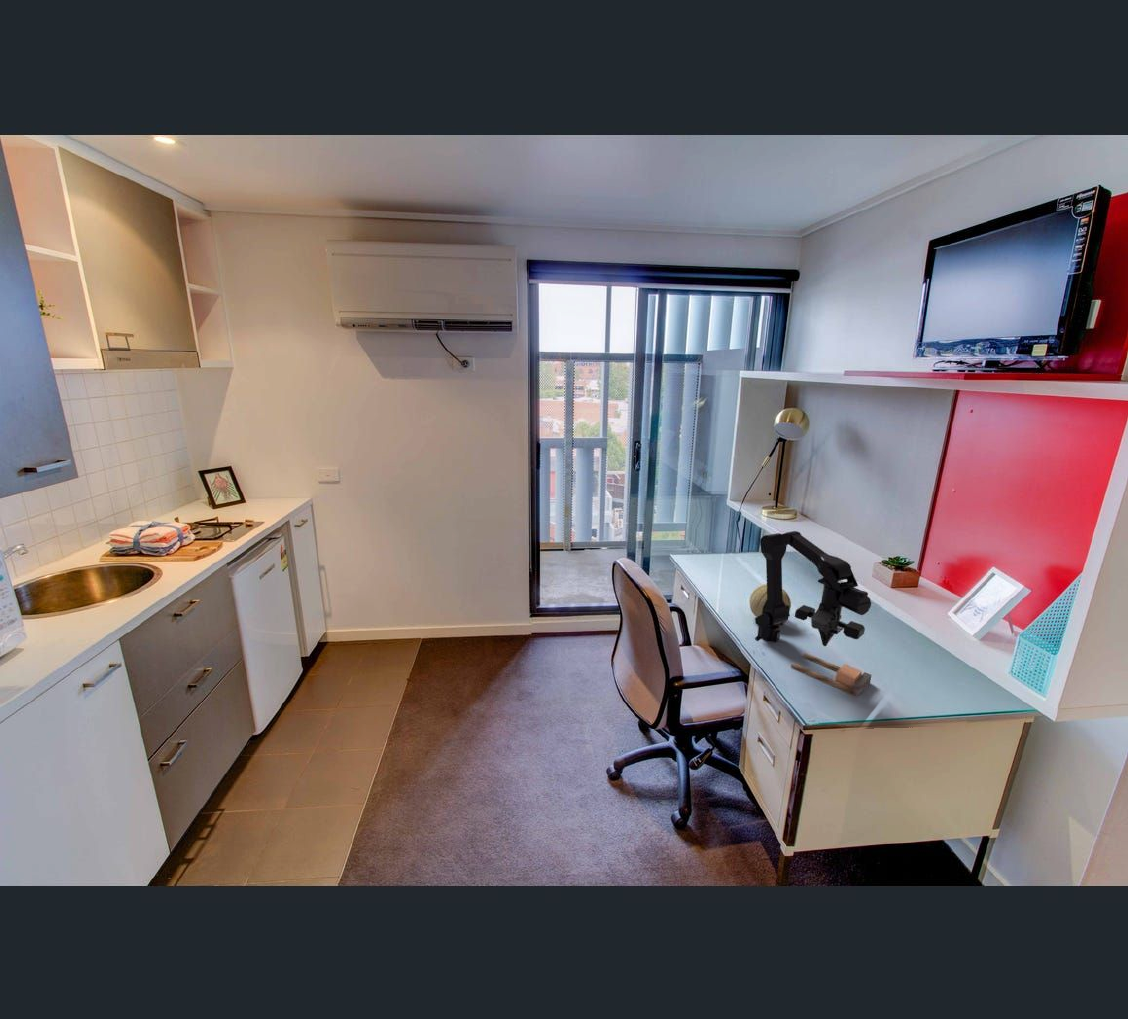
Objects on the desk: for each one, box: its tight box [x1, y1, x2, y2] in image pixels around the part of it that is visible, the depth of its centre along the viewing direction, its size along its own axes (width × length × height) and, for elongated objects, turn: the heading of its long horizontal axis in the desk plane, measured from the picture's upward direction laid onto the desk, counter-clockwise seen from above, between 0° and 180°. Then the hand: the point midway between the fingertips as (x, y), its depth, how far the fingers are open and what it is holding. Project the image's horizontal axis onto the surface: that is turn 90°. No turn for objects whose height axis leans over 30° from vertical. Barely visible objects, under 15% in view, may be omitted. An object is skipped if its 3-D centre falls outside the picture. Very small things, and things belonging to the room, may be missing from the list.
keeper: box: [834, 663, 863, 688], centre depth 152 cm, size 5×6×4 cm
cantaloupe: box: [749, 583, 792, 618], centre depth 190 cm, size 15×15×15 cm
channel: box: [790, 652, 872, 697], centre depth 156 cm, size 20×10×4 cm, turn 41°
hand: (824, 645), depth 155 cm, fingers closed
